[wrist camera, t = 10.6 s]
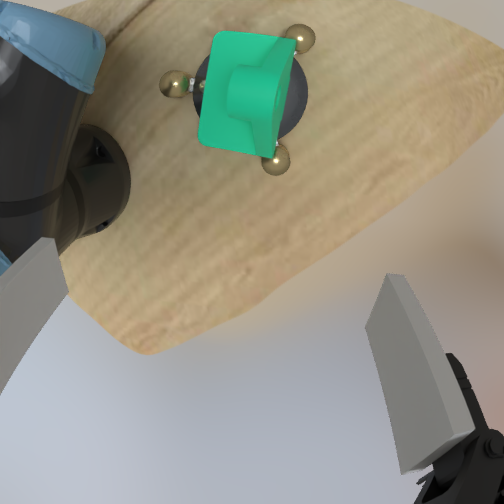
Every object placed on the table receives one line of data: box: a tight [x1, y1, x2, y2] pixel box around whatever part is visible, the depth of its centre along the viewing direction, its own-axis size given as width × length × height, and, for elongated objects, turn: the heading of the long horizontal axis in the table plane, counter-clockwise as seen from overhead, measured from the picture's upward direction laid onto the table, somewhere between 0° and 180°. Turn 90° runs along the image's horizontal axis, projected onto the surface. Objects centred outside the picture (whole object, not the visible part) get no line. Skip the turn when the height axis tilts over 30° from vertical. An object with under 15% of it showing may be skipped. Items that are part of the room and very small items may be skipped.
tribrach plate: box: [159, 24, 316, 176], centre depth 28 cm, size 16×17×3 cm
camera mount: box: [198, 31, 296, 159], centre depth 23 cm, size 12×8×10 cm, turn 170°
